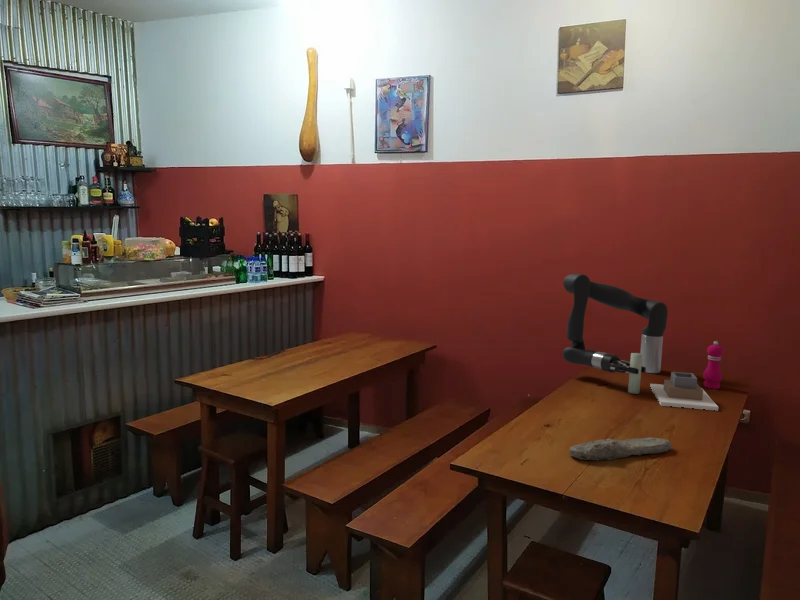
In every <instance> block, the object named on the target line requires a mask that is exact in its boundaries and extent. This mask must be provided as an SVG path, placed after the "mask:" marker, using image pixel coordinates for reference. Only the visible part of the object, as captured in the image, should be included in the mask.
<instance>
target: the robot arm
mask: <svg viewBox="0 0 800 600" xmlns="http://www.w3.org/2000/svg"><path fill="white" fill-rule="evenodd" d="M562 285H563V287H564V290H565V291H566V292H568V293H569V294H570V295H571V294H572V295H573V306H572V310H571V312H570V314H569V317H568V320H567V325H566V339H567V340H568V341H570V342H571V345H572V346H566V347H565V348H564V349H563V350H562V355H561V357H562V358H563V359H564V360H565V362H567V363H570V364H576V365H584V366H588V367H590V368H595V369H598V370H601V371H604V372H608V373H613V374H614V373H615V372H616V373H622V374H625V373H628V374H629V373H633V374H638V373H639V369H637V368H633V367H630V360H627V361H626V360H623V359H621V360H620V357H619V356H618V355H617V354H613V353H609V352H608V353H607V352H602V351H597V350H592V349H586V345H585V340H584V326H585V325H584V324H585V315H586V310H587V306H588V299H592V300H593V301H596V302H598V303H600V304H603V305H605V306H608V307H611V308H614V309H618V310H621V311H628V312H631V313H633V314H635V315H638V316H640V317H641V318H644V319H646V320H648V324H647V326H645V327H643V328H642V330H641V340H640V351H639V353H640V354H642V367H641V373H648V374H659V373H661V365H662V355H663V342H664V334H665V333H664V332H665V330H666V328H667V322H668V315H669V312H668V307H667V304H666V303H664V302H662V301H659V300H652V299H646V298H642V297H638V296H636V295H633V294H632V293H630V291H628V290H625V289H623V288H620V287H617V286H614V285H610V284H606V283H600V282H594V281H591V279H590V277H589V276H588V275H586V274H582V273H571V274H567V276H565V278H563V282H562Z"/></svg>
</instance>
